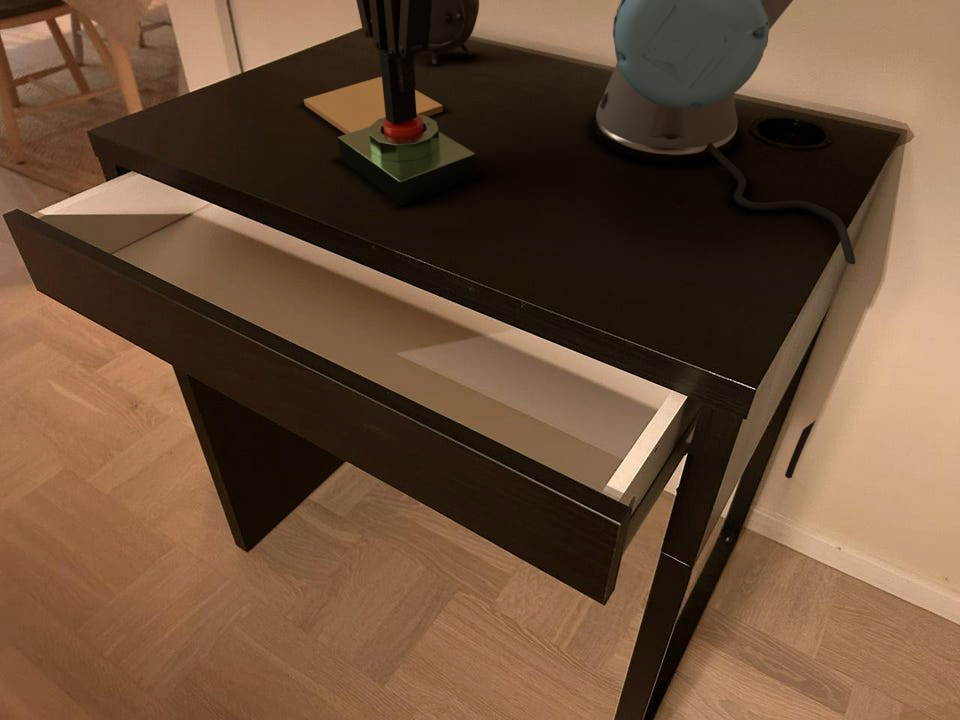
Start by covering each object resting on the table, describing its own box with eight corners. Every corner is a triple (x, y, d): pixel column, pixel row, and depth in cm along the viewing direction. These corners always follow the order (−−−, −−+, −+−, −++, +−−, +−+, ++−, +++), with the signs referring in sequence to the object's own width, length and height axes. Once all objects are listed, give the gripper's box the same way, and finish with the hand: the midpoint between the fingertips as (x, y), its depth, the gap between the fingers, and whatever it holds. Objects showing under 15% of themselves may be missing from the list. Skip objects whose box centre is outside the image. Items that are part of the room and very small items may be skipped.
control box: (476, 177, 76) (475, 136, 73) (402, 206, 73) (398, 164, 69) (411, 136, 84) (408, 97, 81) (341, 160, 80) (334, 120, 77)
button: (432, 141, 76) (430, 122, 74) (398, 153, 74) (396, 133, 72) (410, 127, 78) (408, 108, 77) (377, 138, 76) (375, 119, 75)
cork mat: (443, 111, 88) (442, 105, 88) (355, 141, 83) (354, 134, 82) (389, 80, 95) (388, 74, 95) (304, 105, 90) (303, 99, 90)
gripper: (295, -174, 61) (336, 106, 77) (380, -154, 53) (405, 153, 69) (374, -183, 64) (397, 88, 80) (465, -165, 56) (470, 131, 72)
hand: (401, 118), depth 74 cm, fingers closed
